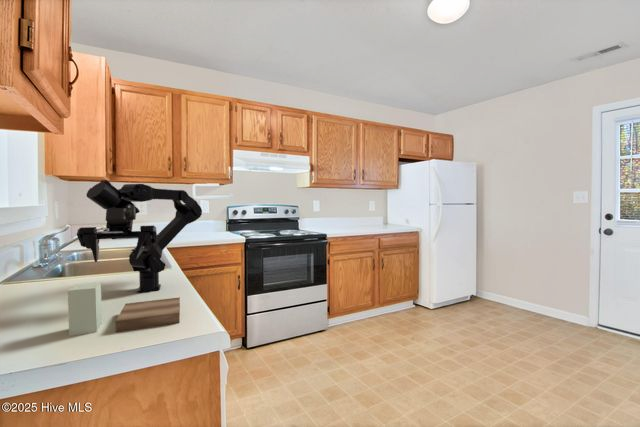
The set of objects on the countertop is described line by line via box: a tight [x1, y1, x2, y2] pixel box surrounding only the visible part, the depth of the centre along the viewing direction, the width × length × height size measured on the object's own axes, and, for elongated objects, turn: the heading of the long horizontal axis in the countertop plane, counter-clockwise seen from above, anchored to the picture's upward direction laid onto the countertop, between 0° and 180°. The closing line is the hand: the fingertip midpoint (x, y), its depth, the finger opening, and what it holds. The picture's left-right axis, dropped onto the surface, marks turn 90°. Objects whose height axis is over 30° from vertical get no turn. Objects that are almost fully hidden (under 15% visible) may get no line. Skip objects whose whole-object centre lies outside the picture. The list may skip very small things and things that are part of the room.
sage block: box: [67, 282, 103, 337], centre depth 71 cm, size 5×5×10 cm
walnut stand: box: [115, 296, 181, 333], centre depth 78 cm, size 13×13×2 cm
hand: (116, 259), depth 83 cm, fingers open, 9 cm apart
